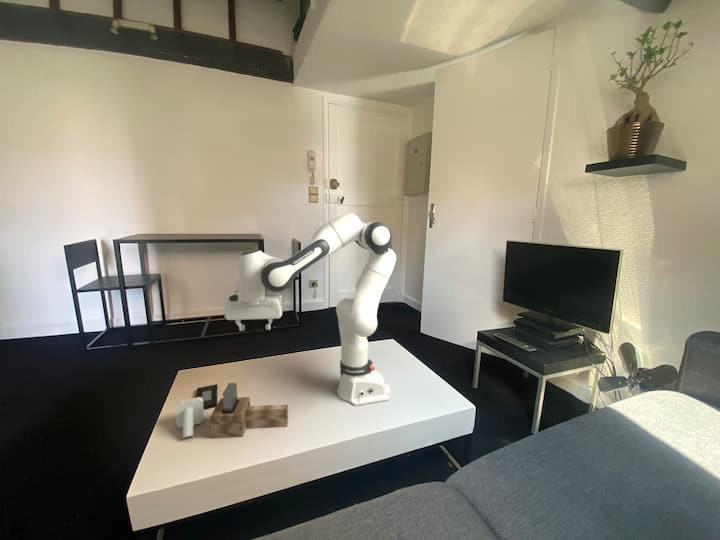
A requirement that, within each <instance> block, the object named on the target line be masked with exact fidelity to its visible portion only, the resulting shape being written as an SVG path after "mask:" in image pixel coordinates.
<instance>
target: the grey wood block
mask: <svg viewBox="0 0 720 540" xmlns="http://www.w3.org/2000/svg"><path fill="white" fill-rule="evenodd" d="M222 398H223V402H224V414H227V413H234V411H235V409H236V407H237V405H238V401H237V398H238V386H237V382H228V384H227V385H226V387H225V389H224V391H223V392H222Z"/></svg>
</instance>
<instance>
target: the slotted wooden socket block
mask: <svg viewBox="0 0 720 540" xmlns="http://www.w3.org/2000/svg"><path fill="white" fill-rule="evenodd" d="M237 401H238V405H237V407H236V409H235V411H234V413H227V414H224V402H223V397H222V398H220V399H219V401H217V406H216V407H214V410H213V411H212V412H211V414H210V416H209V421H210V422H209V423H210V434H211V436H210V437H211V439H224V438H225V439H226V438H227V439H228V438H242V437H244V435H245V433H246V430H249V429H266V428H267V429H268V428H269V429H271V428H287V427H288V424H289V404H288V403H287V404H269V405H267V404H265V405H251V398H250V396H245V397H243V396H241V397H239V396H238V397H237Z"/></svg>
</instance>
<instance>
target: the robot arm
mask: <svg viewBox="0 0 720 540" xmlns="http://www.w3.org/2000/svg"><path fill="white" fill-rule="evenodd" d="M392 241H393V232H392V229H391V228H390V227H389V225H388V224H386V223H385V222H383V221H370V222H366V223H364V222H362V221H361V219H360V218H359V216H357V215H356V214H354V213H351V212H347V213H345V214H342V215H339V216H338V217H336V218H333V219H332V220H331V219H330V221H328V222H327V223H324V224H323V225H322V226H321V227H319V228H318V229H317V230H316V231H315V232H314V233H313V235H312V238H311V239H310V241H309V242H308V244H306V246H305V247H304V248H302V249H300V250H299V251H298V252H296V253H295V254H293V255H292V256H291V257H289V258H287V259H283V258H280V257H276V256H272V255H269V254H267V253H265V252H263V250H261V249H251V250H247V251H244V252H242V253H241V254H240V255H239V256H238V261H237V270H238V271H237V274H238V278H239V289H237V290H234V291H231V292H230V293H228V295H226V298H225V300H226V303H225V305H224V318H225V319H226V320H227V321H235V324H236V325H237V326H238V327H239V329H238V330H239V331H240V332H243V331H245V329H246V325H245V324H242V322H241V321H242V320H267V321H268V323H266V324H265V331H270V330H271V324H272V322H273V320H274V319H275V320H276V319H280V318H281V317H282V316H283V307H282V304H283V297H282V296H281V295H280V294H278V293H279V292H282V291H284V290H287V288H288V287H290V285H291V284H292V282H293V281H294V280H295V278H296V277H297V276H298V275H300V273H302V272H304V271H305V270H307V269H308V268H310V267H311V266H313V265H314V264H315V263H316V262H318V261H320V260H321V259H323V258H326V257H328V256H329V255H332V254H333V253H336V252H337V251H340V250H341V249H343V248H344V247H346V246H347V245H348V244H351V243H353V242H355V243H356V245H358V246H359V247H361V248H362V249H365V250H368V253H369V254H368V259H367V261H366V264H365V265H364V267H363V269H362V271H361V273H360V275H359V277H358V279H357V281H356V284H355V293H354V298H350V297H346V298H342V299H341V300H339V302H338V303H337V304H336V308H335V311H336V315H337V321H338V331H339V335H340V343H341V344H340V346H341V347H340V350H341V351H340V352H341V354H340V361H339V362H340V363H339V376H340V377H339V383H338V387H337V391H336V394H337V396H338V397H339V398H340V399H342V400H343V401H346V402H348V403H350V404H351V405H353V406H355V407H356V406H363V405H368V404H373V403H379V402H381V403H382V402H385V401H389V400H390V399H391V396H392V392H391V388H390V386H389V384H388V383H387V382H386V380H385V378H384V375H383V374H382V373H381V372H380V371H378V370H377V369H376V366H375V365H374V363H373V361H372V359H371V358H369V341H368V337H369V336H371V335H372V334H374V333H375V332H376V330H377V327H378V317H377V316H378V309H379V305H380V300H381V297H382V295H383V293H384V290H385V288H386V287H387V285H388V282H389V279H390V278H391V276H392V274H393V270H394V268H395V264H396V262H397V256H396V253H395V252H394V250H392V247H393V243H392ZM266 290H268V291H270V292H274V293H266ZM275 292H277V293H275Z"/></svg>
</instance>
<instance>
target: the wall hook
mask: <svg viewBox="0 0 720 540" xmlns="http://www.w3.org/2000/svg"><path fill="white" fill-rule="evenodd" d="M204 411H205V410H204V408H203V399H202V398H201V397H197V398H196V397H193V398H187V399H182V400H180V401H178V402H177V404H176V407H175V422H176V427H177V428H179V429H182V439H183V438H189V437H192V436H193V437H194V426H195V425H196V426H197V425H200V424H201V423H202V422H203V421H204V418H205V417H204V415H205V413H204Z"/></svg>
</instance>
